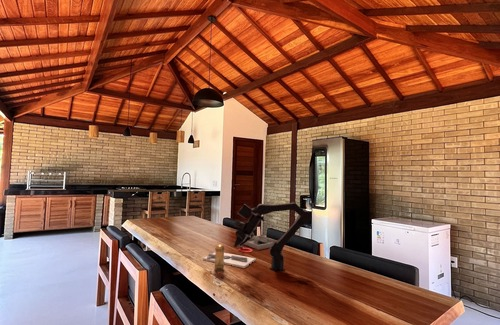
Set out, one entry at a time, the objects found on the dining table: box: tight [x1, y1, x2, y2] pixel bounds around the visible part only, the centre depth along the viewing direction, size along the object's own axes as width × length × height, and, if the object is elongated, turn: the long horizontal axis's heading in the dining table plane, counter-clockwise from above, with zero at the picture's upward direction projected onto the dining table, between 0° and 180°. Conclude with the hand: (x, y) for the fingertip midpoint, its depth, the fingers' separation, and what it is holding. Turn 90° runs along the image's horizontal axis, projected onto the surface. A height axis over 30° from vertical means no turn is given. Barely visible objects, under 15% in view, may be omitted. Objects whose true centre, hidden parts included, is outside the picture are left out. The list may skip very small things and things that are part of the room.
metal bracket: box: [252, 237, 271, 244], centre depth 206 cm, size 14×6×15 cm
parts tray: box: [242, 235, 278, 251], centre depth 206 cm, size 22×22×3 cm
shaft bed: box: [202, 252, 257, 269], centre depth 166 cm, size 28×16×3 cm, turn 65°
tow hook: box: [237, 245, 253, 254], centre depth 187 cm, size 8×13×9 cm
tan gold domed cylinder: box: [214, 244, 226, 272], centre depth 150 cm, size 5×5×13 cm
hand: (237, 246), depth 154 cm, fingers open, 9 cm apart
